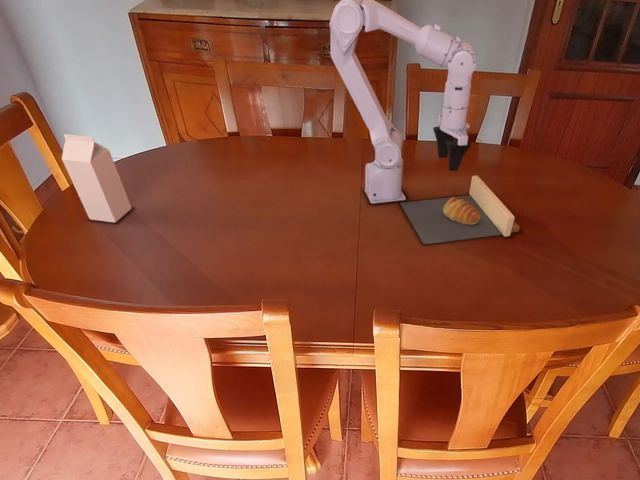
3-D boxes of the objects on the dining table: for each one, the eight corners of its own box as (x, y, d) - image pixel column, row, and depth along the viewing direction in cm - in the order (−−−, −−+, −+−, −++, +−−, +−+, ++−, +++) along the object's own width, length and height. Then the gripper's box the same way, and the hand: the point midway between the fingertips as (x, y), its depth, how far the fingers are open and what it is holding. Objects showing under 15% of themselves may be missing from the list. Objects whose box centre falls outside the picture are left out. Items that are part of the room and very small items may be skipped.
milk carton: (115, 223, 112) (82, 143, 99) (89, 220, 113) (52, 140, 100) (132, 209, 117) (102, 131, 104) (106, 206, 118) (73, 128, 105)
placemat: (423, 244, 107) (424, 244, 107) (399, 203, 121) (399, 202, 121) (501, 234, 111) (501, 234, 111) (469, 195, 124) (469, 195, 124)
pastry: (485, 220, 115) (488, 205, 113) (469, 230, 112) (471, 215, 109) (455, 206, 120) (457, 192, 117) (438, 215, 117) (440, 201, 114)
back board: (504, 236, 110) (508, 217, 107) (469, 193, 125) (472, 175, 122) (521, 234, 111) (526, 215, 107) (484, 192, 126) (487, 174, 122)
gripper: (484, 115, 103) (473, 174, 112) (460, 94, 112) (452, 150, 122) (454, 117, 101) (446, 177, 111) (432, 96, 111) (427, 153, 121)
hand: (447, 163), depth 116 cm, fingers open, 7 cm apart
